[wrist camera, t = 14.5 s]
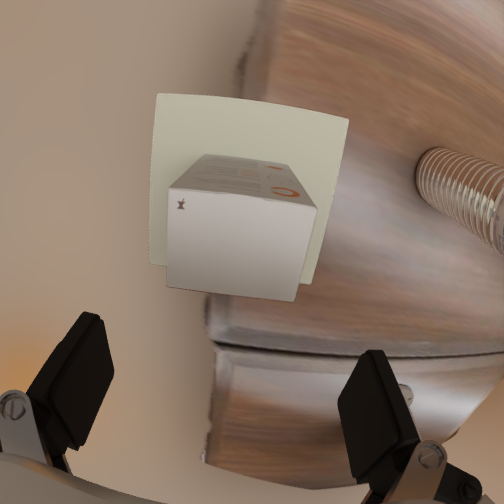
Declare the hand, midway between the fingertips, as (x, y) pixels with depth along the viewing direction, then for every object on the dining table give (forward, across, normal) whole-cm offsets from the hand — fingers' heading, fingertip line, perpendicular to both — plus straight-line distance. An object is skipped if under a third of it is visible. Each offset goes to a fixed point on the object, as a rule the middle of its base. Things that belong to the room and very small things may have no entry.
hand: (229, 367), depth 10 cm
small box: (+21, +1, -1) cm, 21 cm away
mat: (+21, +1, -1) cm, 21 cm away
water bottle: (+22, -20, -7) cm, 30 cm away
